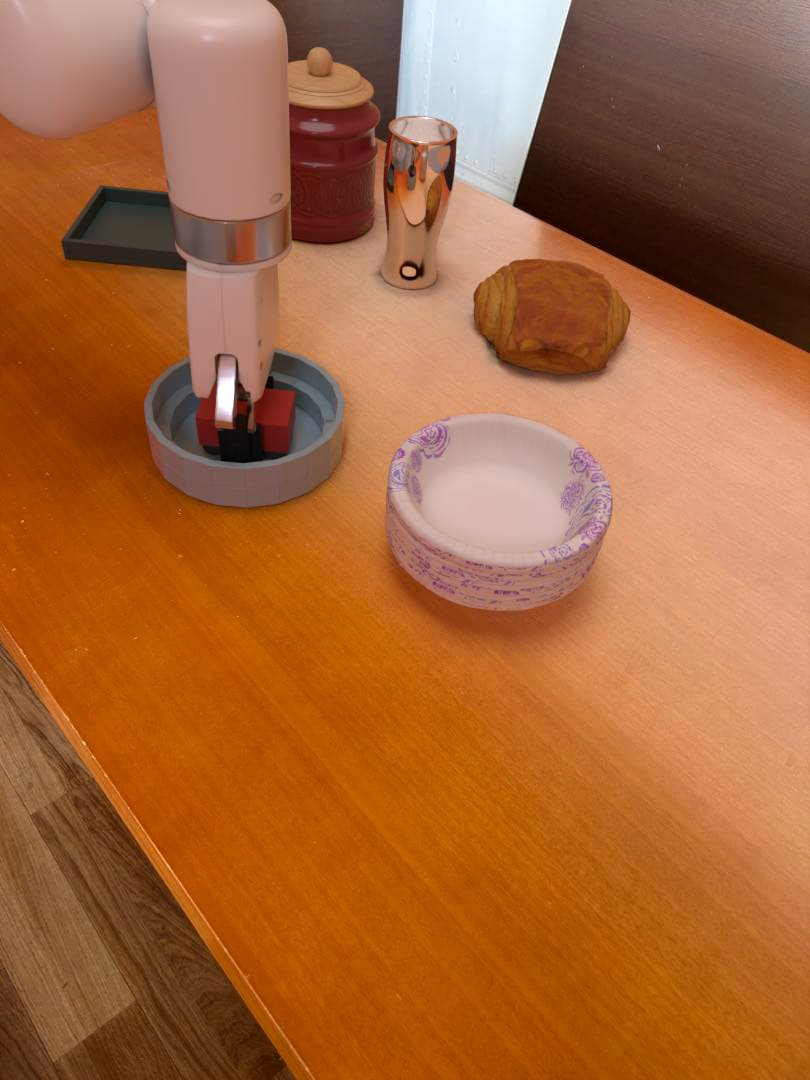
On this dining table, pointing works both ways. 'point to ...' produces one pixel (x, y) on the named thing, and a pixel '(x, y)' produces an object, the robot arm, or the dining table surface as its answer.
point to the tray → (125, 229)
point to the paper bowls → (496, 511)
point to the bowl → (268, 479)
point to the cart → (271, 415)
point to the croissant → (551, 316)
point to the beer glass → (416, 197)
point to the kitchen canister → (330, 149)
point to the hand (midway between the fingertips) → (249, 437)
